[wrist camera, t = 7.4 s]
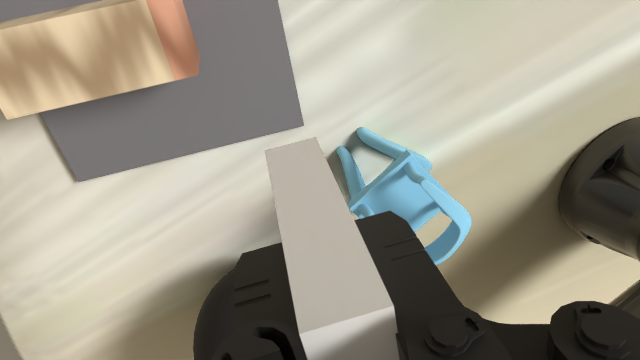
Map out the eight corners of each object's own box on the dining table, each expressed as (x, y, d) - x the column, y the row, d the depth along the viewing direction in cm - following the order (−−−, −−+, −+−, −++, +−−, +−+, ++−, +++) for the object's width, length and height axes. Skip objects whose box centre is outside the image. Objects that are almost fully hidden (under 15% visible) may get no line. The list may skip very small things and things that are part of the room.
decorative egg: (269, 334, 49) (288, 475, 36) (172, 296, 43) (155, 447, 31) (338, 262, 46) (386, 389, 33) (244, 211, 40) (257, 340, 27)
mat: (302, 122, 37) (303, 125, 36) (80, 178, 35) (78, 182, 35) (240, -170, 26) (241, -172, 26) (-82, -111, 24) (-88, -112, 24)
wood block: (198, 75, 27) (7, 119, 26) (200, 56, 32) (36, 94, 31) (170, -7, 25) (-43, 38, 24) (177, -16, 29) (-4, 22, 28)
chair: (379, 107, 38) (438, 170, 27) (430, 162, 42) (498, 235, 31) (317, 166, 39) (351, 246, 29) (371, 213, 43) (419, 298, 33)
